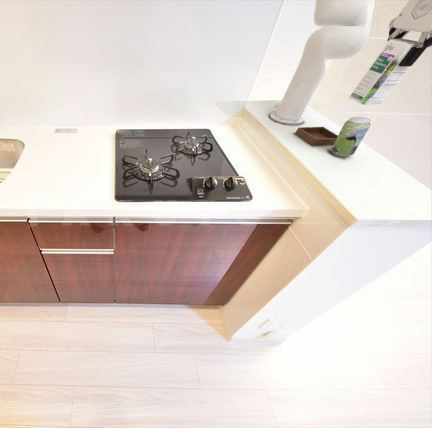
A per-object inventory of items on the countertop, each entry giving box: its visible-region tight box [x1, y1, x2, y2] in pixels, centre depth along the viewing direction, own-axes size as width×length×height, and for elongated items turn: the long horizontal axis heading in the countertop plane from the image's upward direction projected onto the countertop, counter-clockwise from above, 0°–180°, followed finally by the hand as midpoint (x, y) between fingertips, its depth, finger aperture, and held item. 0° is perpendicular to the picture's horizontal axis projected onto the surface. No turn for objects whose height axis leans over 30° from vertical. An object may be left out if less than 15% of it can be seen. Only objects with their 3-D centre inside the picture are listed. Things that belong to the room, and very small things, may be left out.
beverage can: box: [330, 116, 371, 157], centre depth 75 cm, size 6×7×12 cm
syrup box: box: [348, 38, 428, 106], centre depth 62 cm, size 6×6×14 cm
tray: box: [294, 126, 339, 147], centre depth 86 cm, size 10×10×2 cm
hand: (393, 62), depth 60 cm, fingers closed on syrup box, 5 cm apart
